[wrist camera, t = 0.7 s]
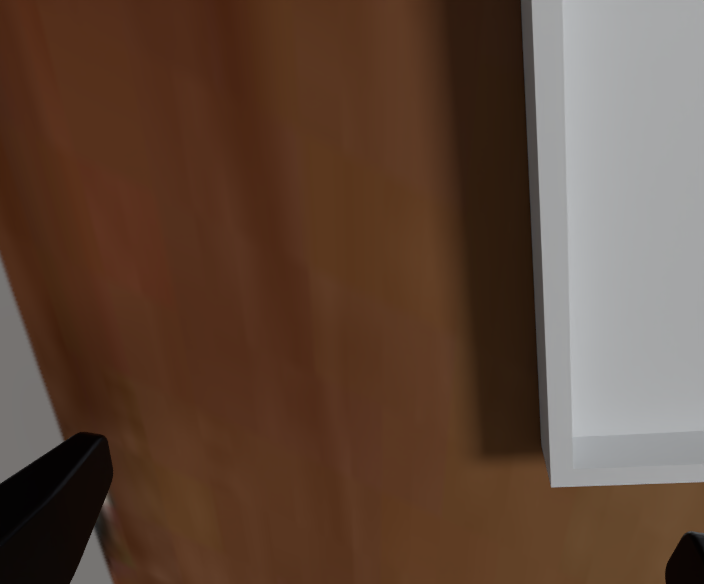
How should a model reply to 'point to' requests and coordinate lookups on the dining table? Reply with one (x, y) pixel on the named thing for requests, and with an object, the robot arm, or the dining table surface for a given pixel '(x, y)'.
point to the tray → (617, 236)
